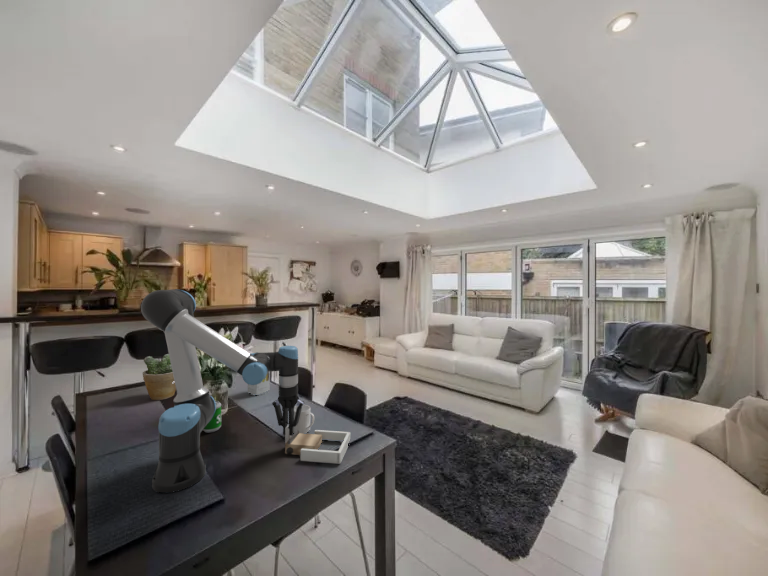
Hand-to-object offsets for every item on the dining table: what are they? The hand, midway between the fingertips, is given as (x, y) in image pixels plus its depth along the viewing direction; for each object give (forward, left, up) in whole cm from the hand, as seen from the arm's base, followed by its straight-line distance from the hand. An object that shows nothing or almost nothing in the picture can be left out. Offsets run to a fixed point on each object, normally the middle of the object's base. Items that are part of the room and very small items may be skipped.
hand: (288, 442), depth 125 cm
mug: (+13, -2, -2) cm, 13 cm away
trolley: (0, -7, -2) cm, 7 cm away
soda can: (+10, +41, -2) cm, 42 cm away
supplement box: (+58, +45, -2) cm, 73 cm away
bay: (0, -16, -2) cm, 16 cm away
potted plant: (+44, +97, -2) cm, 106 cm away
